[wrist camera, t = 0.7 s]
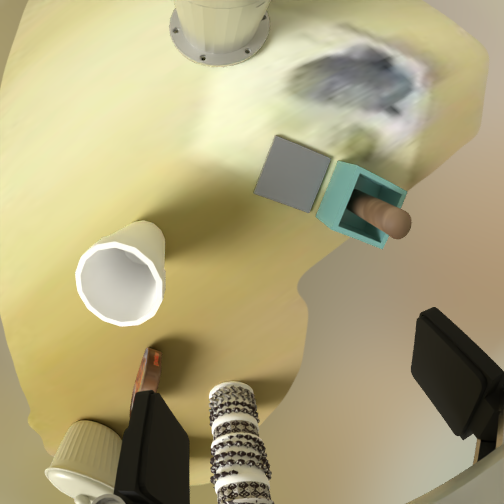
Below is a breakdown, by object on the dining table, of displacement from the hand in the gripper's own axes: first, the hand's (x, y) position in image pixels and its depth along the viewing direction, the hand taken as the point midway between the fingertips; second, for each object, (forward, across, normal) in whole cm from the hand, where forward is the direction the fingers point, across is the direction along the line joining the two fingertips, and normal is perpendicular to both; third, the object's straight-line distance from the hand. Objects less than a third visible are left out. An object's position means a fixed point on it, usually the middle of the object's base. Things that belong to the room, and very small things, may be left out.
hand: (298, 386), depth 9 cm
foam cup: (+32, +13, +2) cm, 35 cm away
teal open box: (+32, -16, +4) cm, 36 cm away
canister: (+33, +44, +42) cm, 69 cm away
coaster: (+32, -8, -1) cm, 33 cm away
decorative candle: (+33, +10, +35) cm, 49 cm away
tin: (+33, +22, +24) cm, 46 cm away
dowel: (+31, -16, +4) cm, 35 cm away
